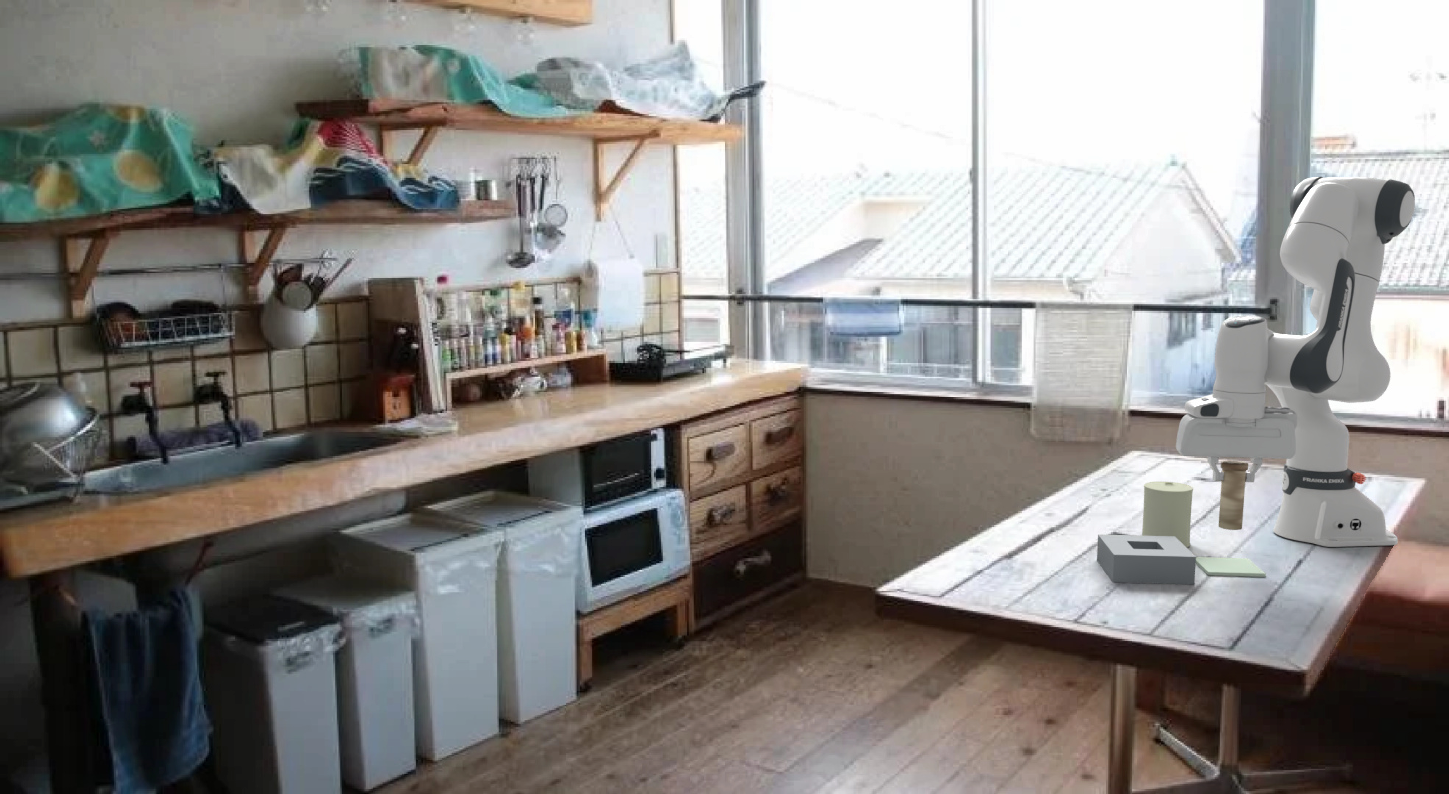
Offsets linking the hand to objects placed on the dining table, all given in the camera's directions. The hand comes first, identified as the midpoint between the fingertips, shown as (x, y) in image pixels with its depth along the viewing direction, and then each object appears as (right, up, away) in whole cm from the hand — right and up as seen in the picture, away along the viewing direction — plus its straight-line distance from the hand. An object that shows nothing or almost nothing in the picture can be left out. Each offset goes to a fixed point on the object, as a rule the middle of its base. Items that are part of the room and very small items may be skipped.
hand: (1233, 481), depth 222 cm
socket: (-16, -17, 0) cm, 23 cm away
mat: (0, -16, +2) cm, 16 cm away
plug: (0, -9, +1) cm, 9 cm away
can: (-5, -14, +20) cm, 25 cm away
